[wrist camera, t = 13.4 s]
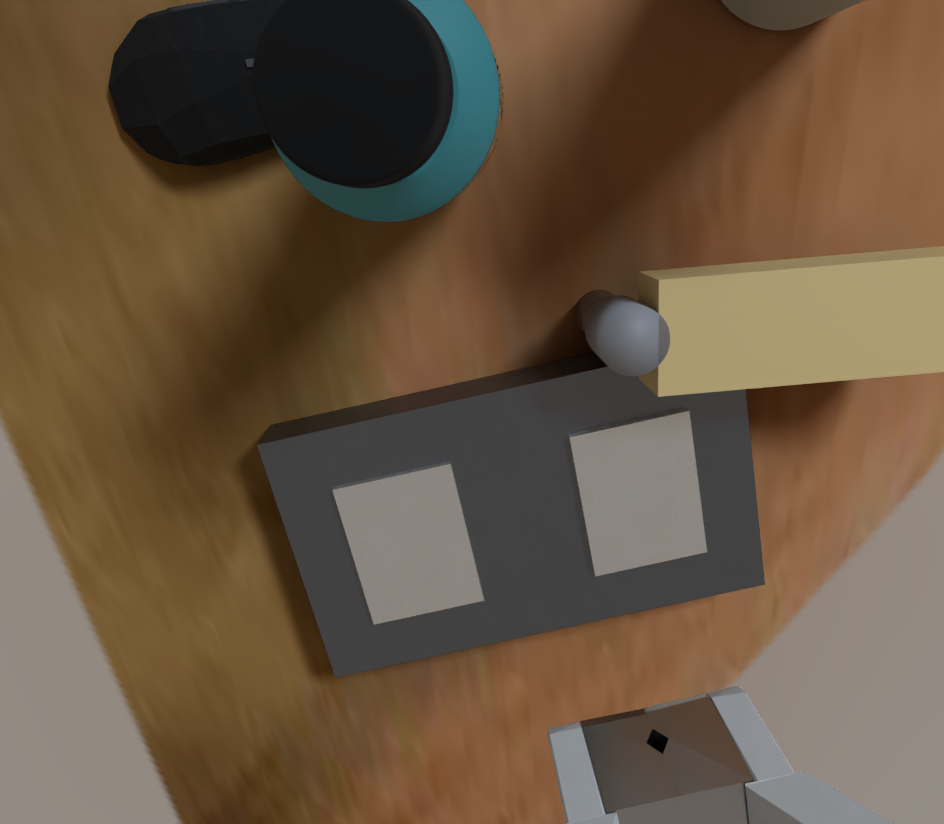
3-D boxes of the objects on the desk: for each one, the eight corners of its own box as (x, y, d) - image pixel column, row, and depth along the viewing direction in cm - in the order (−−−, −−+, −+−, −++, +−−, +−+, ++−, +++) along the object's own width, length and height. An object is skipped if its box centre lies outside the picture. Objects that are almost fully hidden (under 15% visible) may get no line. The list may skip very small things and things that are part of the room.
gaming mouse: (450, 113, 33) (452, 103, 29) (148, 179, 33) (111, 178, 30) (420, -37, 31) (418, -68, 27) (99, 35, 31) (53, 14, 28)
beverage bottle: (426, 217, 34) (347, 320, 16) (329, 105, 32) (111, 70, 14) (530, 122, 32) (581, 110, 14) (434, -1, 31) (344, -206, 12)
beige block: (586, 383, 33) (600, 401, 30) (583, 276, 31) (598, 284, 28) (950, 351, 33) (998, 366, 30) (965, 244, 32) (1017, 249, 29)
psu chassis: (252, 367, 36) (232, 386, 33) (709, 264, 35) (738, 272, 32) (342, 643, 41) (334, 683, 38) (741, 556, 41) (768, 589, 37)
